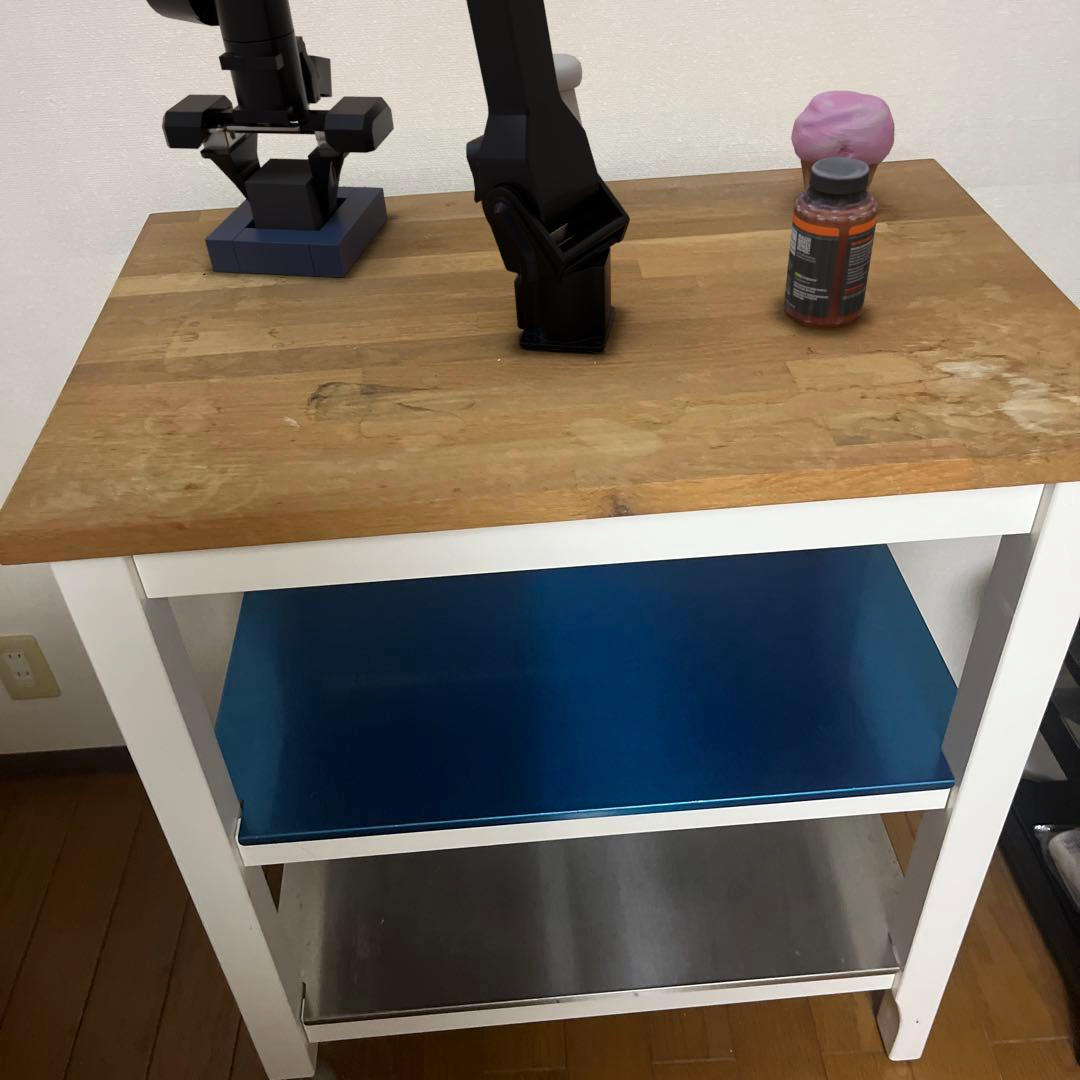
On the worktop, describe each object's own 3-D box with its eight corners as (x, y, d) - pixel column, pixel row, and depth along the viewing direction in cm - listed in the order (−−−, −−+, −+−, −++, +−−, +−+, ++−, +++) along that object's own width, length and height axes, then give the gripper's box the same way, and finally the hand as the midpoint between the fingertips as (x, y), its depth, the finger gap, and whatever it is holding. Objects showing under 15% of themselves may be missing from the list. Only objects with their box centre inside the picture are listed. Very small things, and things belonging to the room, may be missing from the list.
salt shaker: (587, 216, 95) (583, 68, 87) (526, 214, 96) (517, 67, 88) (597, 191, 99) (594, 47, 91) (539, 189, 101) (531, 47, 92)
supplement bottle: (869, 300, 80) (893, 156, 73) (852, 336, 76) (877, 187, 69) (793, 289, 82) (809, 147, 75) (773, 323, 78) (788, 177, 71)
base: (387, 218, 97) (383, 187, 95) (343, 277, 88) (337, 244, 86) (268, 214, 100) (261, 183, 98) (213, 271, 91) (204, 239, 89)
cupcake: (780, 188, 98) (791, 77, 91) (874, 186, 97) (892, 74, 90) (789, 227, 91) (802, 111, 84) (890, 226, 90) (910, 109, 84)
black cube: (341, 224, 95) (328, 159, 91) (319, 251, 91) (305, 184, 87) (284, 222, 96) (270, 158, 92) (260, 248, 92) (244, 182, 88)
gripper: (399, 5, 86) (423, 187, 97) (196, 6, 90) (240, 182, 100) (355, 44, 78) (386, 238, 88) (133, 43, 82) (188, 231, 92)
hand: (298, 220), depth 92 cm, fingers closed on black cube, 6 cm apart
